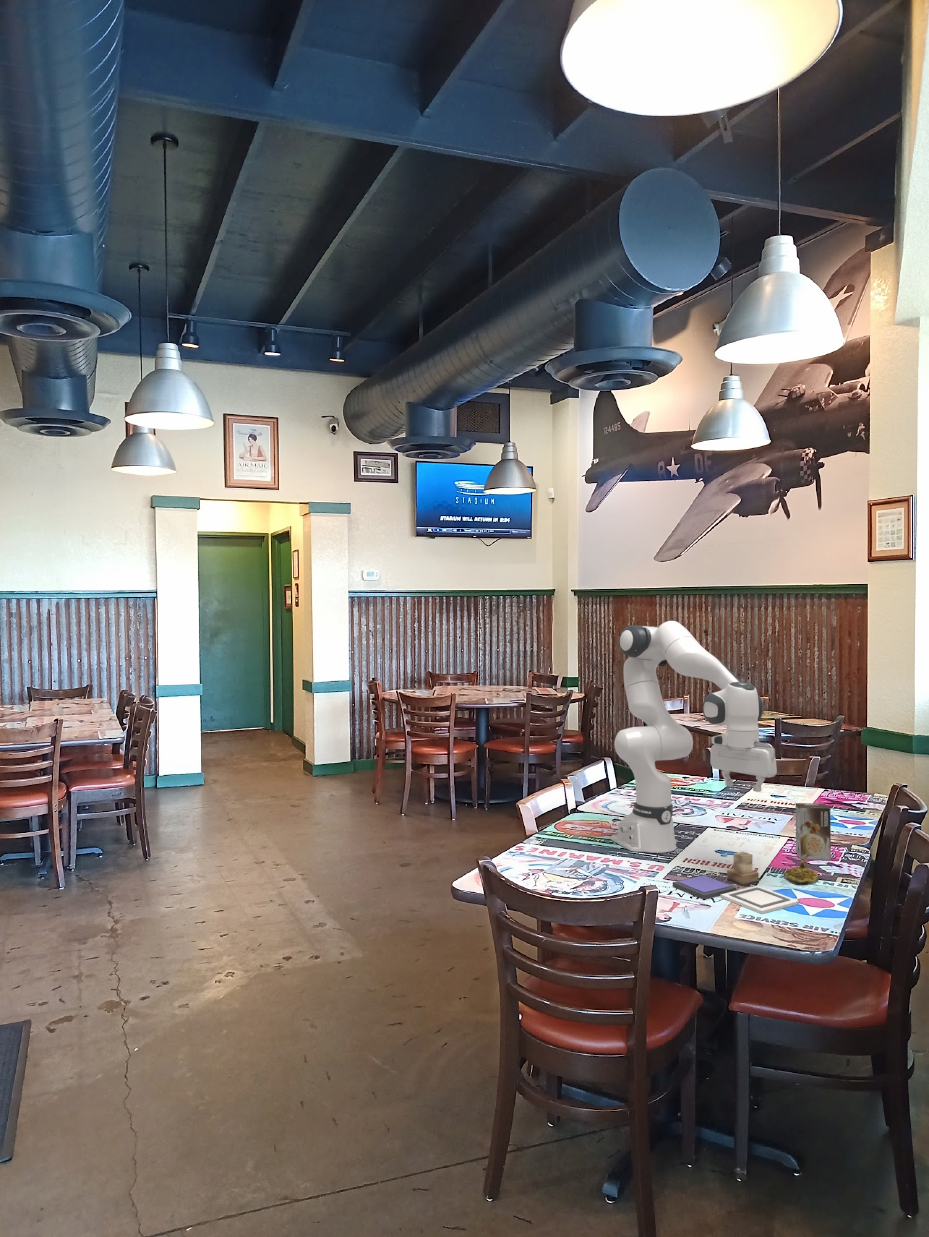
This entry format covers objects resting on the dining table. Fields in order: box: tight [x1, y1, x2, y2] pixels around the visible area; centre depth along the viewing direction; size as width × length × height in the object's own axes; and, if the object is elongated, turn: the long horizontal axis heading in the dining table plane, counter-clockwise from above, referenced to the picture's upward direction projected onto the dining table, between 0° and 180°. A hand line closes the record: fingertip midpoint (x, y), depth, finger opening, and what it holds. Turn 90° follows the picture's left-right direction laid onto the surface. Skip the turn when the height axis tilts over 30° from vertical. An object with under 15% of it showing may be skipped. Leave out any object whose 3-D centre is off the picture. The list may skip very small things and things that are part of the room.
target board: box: [720, 885, 800, 915], centre depth 232 cm, size 14×14×1 cm
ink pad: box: [672, 874, 737, 900], centre depth 241 cm, size 12×12×2 cm
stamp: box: [726, 850, 760, 887], centre depth 247 cm, size 6×6×8 cm
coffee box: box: [795, 802, 832, 861], centre depth 269 cm, size 9×6×16 cm
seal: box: [783, 858, 820, 886], centre depth 250 cm, size 9×5×15 cm
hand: (743, 788), depth 247 cm, fingers open, 8 cm apart
